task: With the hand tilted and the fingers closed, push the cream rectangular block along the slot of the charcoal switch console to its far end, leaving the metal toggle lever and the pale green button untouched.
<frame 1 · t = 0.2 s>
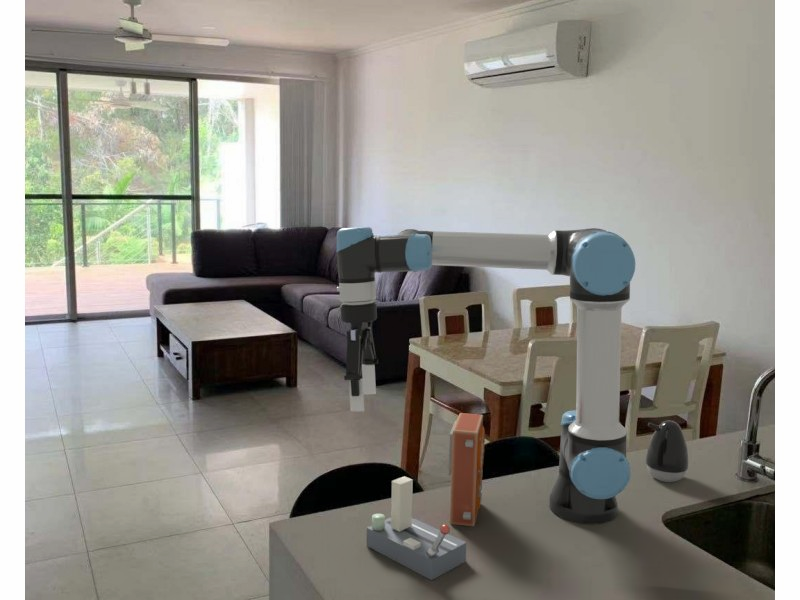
hand: (363, 402, 156), 28 cm above the counter, tool pointing down, fingers open, 13 cm apart
push button: (378, 521, 150), point 5 cm above the counter, slide at 0.0 cm
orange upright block: (464, 513, 168), on the counter
cream rectangular block: (401, 503, 150), point 9 cm above the counter, slide at 0.0 cm
toggle lever: (438, 540, 139), point 8 cm above the counter, hinge at 28.0°
switch console: (415, 553, 149), on the counter
pump dispenser: (665, 478, 189), on the counter
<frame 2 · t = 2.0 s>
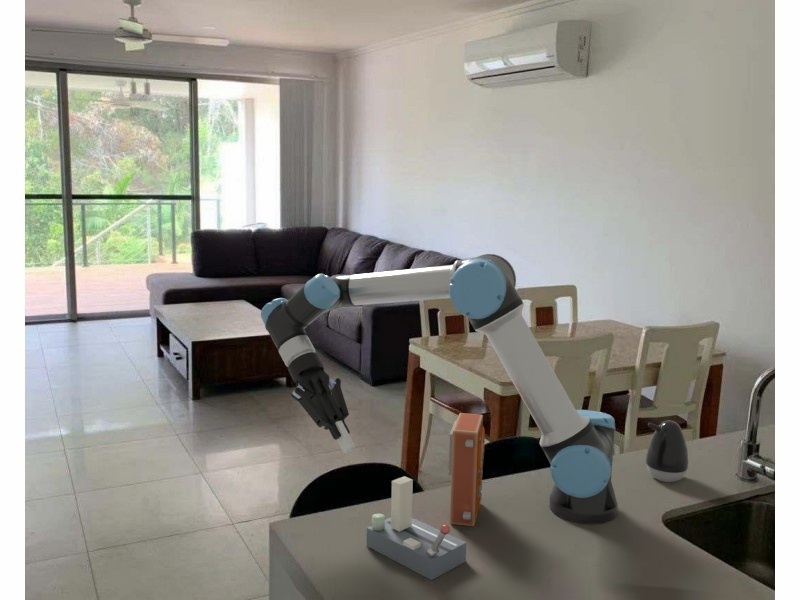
hand: (349, 449, 160), 16 cm above the counter, tool tilted 45°, fingers closed
nothing on the counter moved.
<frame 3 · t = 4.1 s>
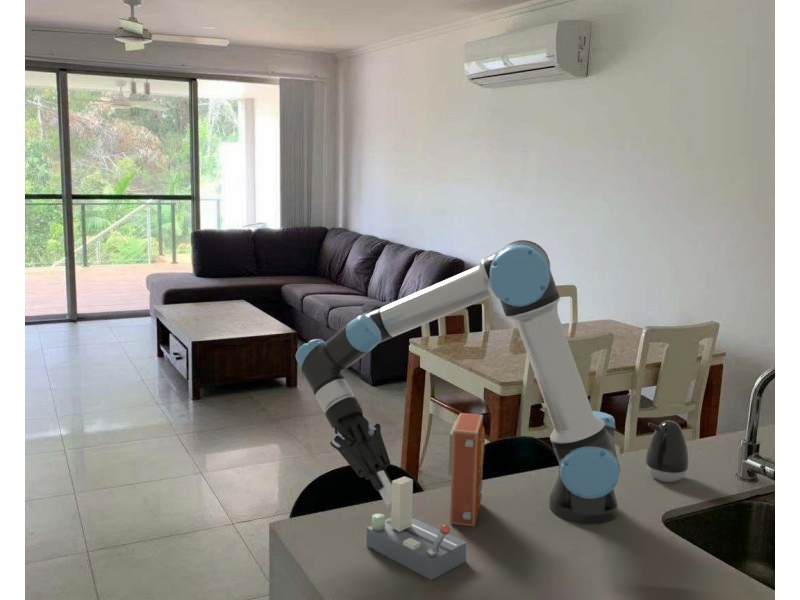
hand: (392, 501, 152), 9 cm above the counter, tool tilted 45°, fingers closed
cream rectangular block: (402, 503, 150), point 9 cm above the counter, slide at 0.0 cm, touching gripper
everything else where it was.
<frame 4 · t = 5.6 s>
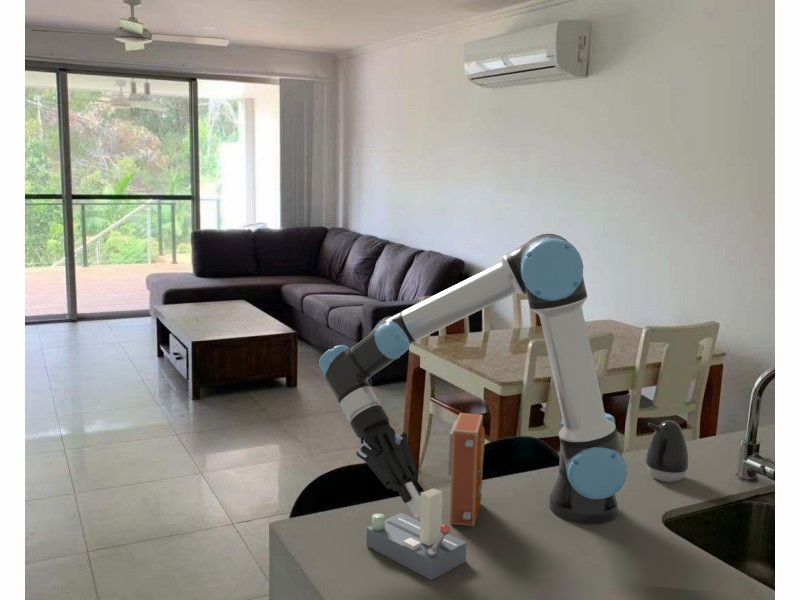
hand: (421, 514, 146), 9 cm above the counter, tool tilted 45°, fingers closed
cream rectangular block: (431, 516, 145), point 9 cm above the counter, slide at 8.0 cm, touching gripper
everything else where it was.
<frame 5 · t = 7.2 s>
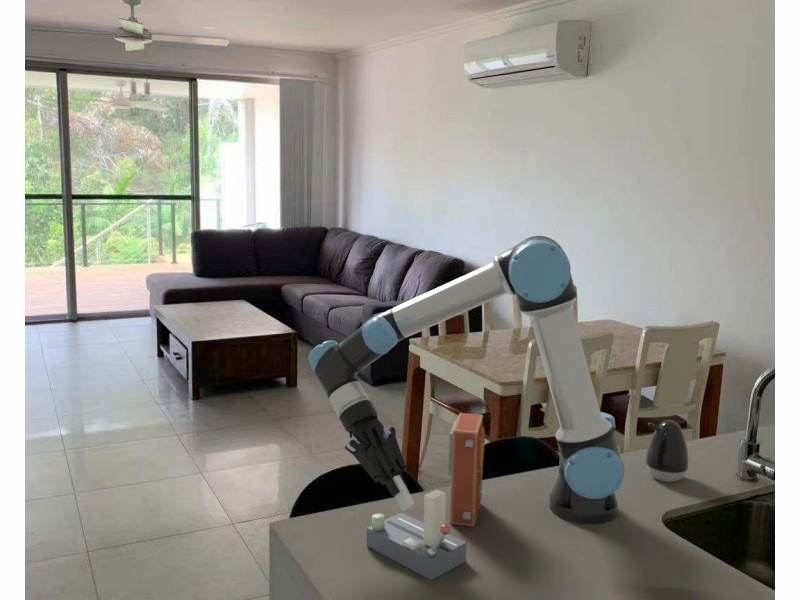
hand: (408, 507, 149), 9 cm above the counter, tool tilted 45°, fingers closed
cream rectangular block: (434, 518, 144), point 9 cm above the counter, slide at 8.9 cm
everything else where it was.
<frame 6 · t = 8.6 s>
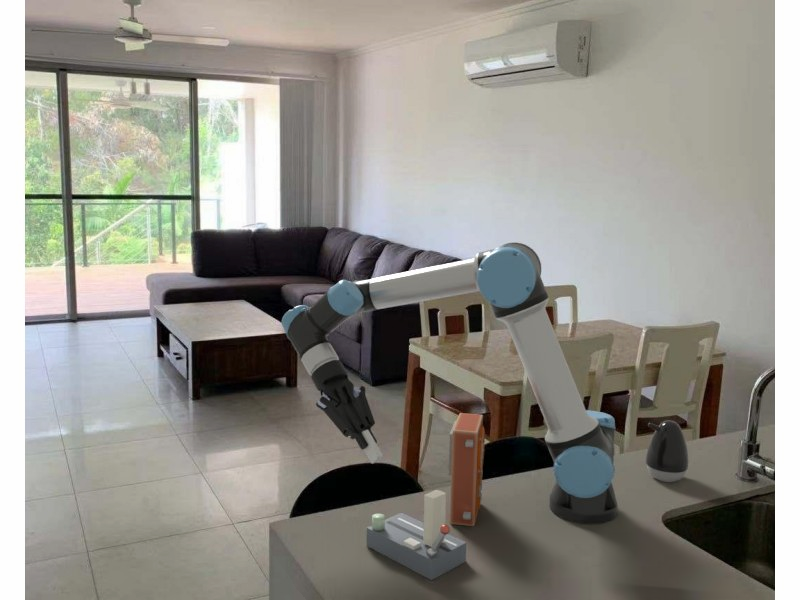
hand: (377, 459, 156), 16 cm above the counter, tool tilted 45°, fingers closed
nothing on the counter moved.
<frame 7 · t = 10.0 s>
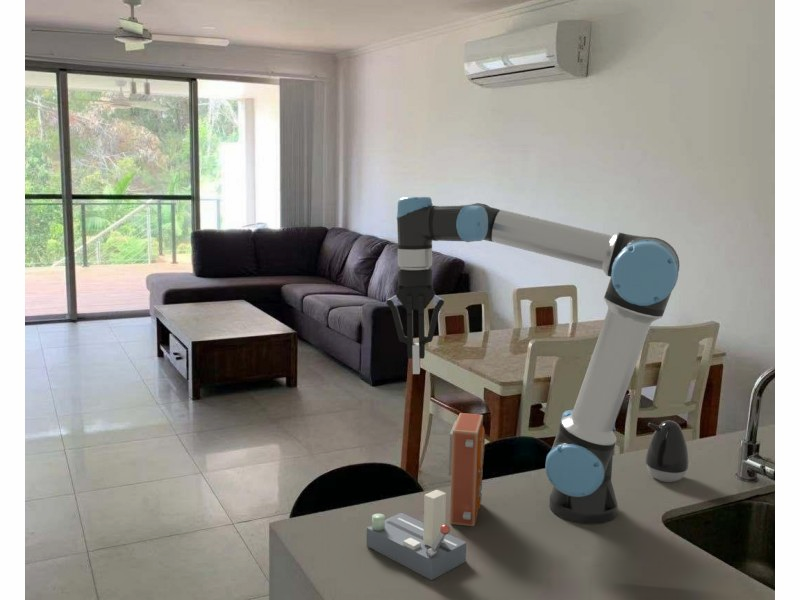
hand: (416, 372, 166), 31 cm above the counter, tool pointing down, fingers closed
nothing on the counter moved.
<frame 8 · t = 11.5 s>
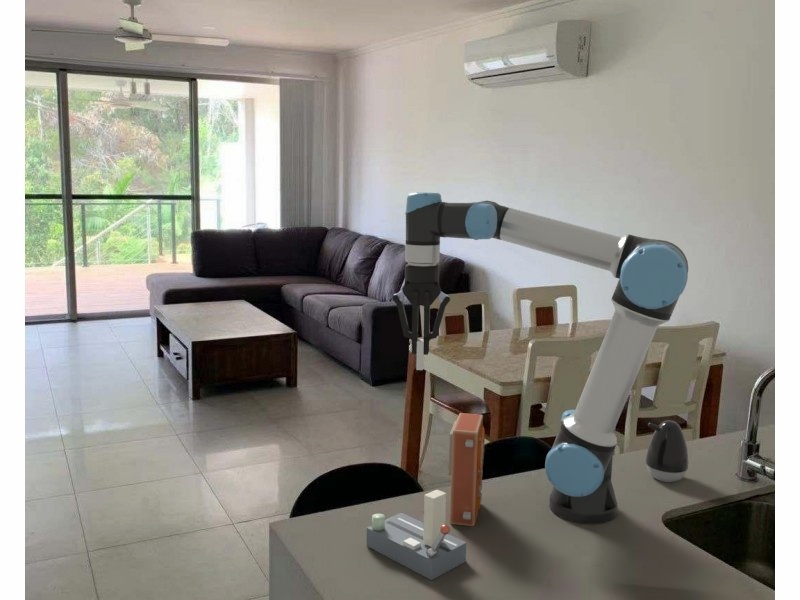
hand: (419, 368, 166), 32 cm above the counter, tool pointing down, fingers closed
nothing on the counter moved.
at the end: cream rectangular block slide at 8.9 cm; toggle lever at +28° (first picture: +28°); push button slide at 0.0 cm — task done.
